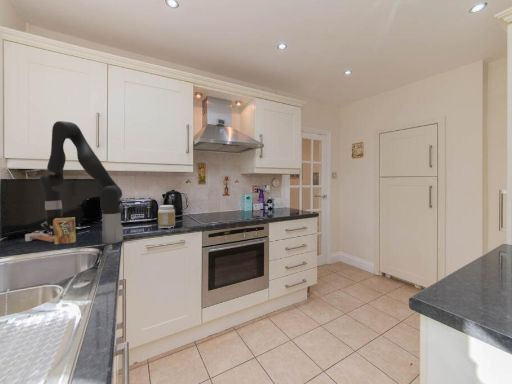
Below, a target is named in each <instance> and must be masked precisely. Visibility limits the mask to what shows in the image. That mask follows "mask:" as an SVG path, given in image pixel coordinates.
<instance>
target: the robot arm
mask: <svg viewBox="0 0 512 384" xmlns="http://www.w3.org/2000/svg"><path fill="white" fill-rule="evenodd" d="M67 139H69V140H70V141H71V142H72V144H73V145H74V147H75V148H76V155H77V161H78V163H79V164H80V167H82V168H83V170H84V171H85V173H87V174H88V175H89V176H90V177H91V178H93V180H95V182H97V183H98V184H99V186H100V187H101V190H100V191H99V201H100V203H99V204H100V210H101V212H102V213H101V214H102V218H101V219H102V243H103V244H106V245H109V244H118V243H119V242H123V241H124V227H123V224H122V214H121V213H122V212H121V211H122V209H121V207H120V206H119V200H120V199H121V198H122V196H123V191H122V189H121V188H120V187H119V185H118V184H117V183H116V182H115V181H114V179H113V178H112V177H111V175H110V174H109V172H108V171H107V170H106V168H105V166H104V165H103V163H102V161H100V159H99V157H98V156H97V155H96V153H95V151H93V149H92V147H91V145H90V144H89V142H87V140H86V138H85V136H84V134H83V132H82V130H81V128H80V127H79V126H78V125H77V124H76V123H74V122H70V121H60V120H59V121H56V122H54V123H53V126H52V130H51V143H50V145H51V147H50V148H51V149H50V155H49V159H48V162H47V163H48V164H47V168H46V169H47V171H48V172H51V173H54V174H49V173H48V174H42V175H41V176H40V177H39V180H38V181H39V185H40V187H41V188H42V192H43V193H44V201H45V202H44V212H45V213H44V214H45V220H44V222H43V223H40V226H41V227H42V228H43V229H45V230H46V231H48V232H51V235H53V236H54V219H57V218H64V216H63V204H62V197H61V194H62V193H61V191H60V190H54V189H53V187H60V186H62V185H63V184H64V182H65V181H64V178H65V177H64V168H65V165H66V159H67V158H66V157H67V156H66V154H65V149H64V144H65V142H66V140H67Z"/></svg>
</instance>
